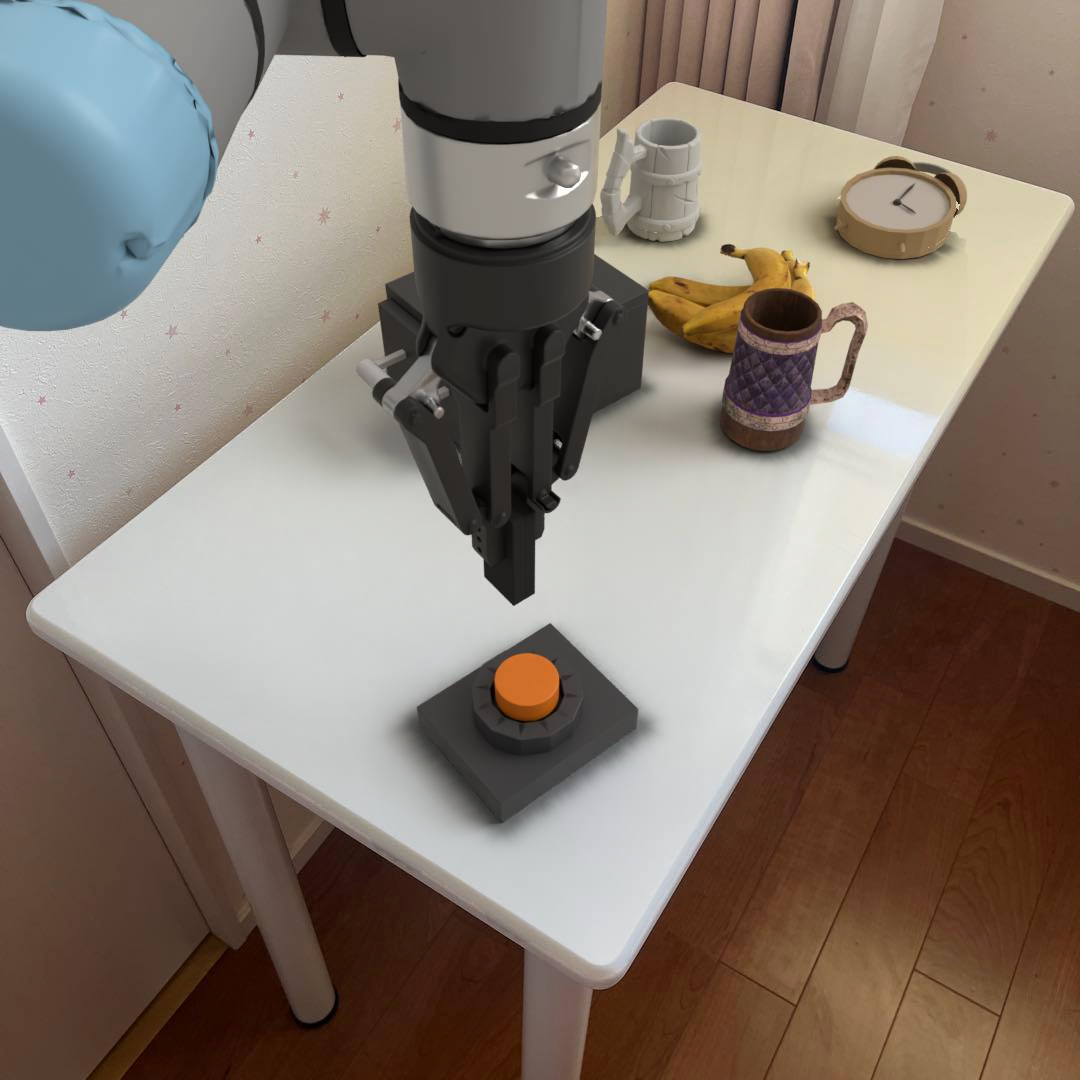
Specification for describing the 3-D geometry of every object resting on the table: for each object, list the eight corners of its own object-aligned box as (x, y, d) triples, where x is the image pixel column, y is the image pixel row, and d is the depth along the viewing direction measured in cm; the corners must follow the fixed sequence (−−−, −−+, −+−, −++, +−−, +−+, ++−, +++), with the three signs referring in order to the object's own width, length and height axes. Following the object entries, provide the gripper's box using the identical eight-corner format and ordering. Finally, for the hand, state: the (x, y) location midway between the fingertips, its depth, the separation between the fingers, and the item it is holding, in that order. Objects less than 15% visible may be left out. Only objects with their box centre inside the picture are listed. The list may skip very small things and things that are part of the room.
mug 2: (719, 452, 90) (739, 332, 81) (716, 396, 95) (734, 276, 86) (847, 458, 89) (880, 337, 80) (837, 401, 94) (867, 281, 85)
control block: (502, 823, 67) (500, 789, 64) (419, 725, 72) (413, 690, 69) (636, 728, 72) (640, 692, 69) (550, 642, 77) (550, 605, 74)
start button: (521, 733, 67) (520, 717, 66) (482, 690, 70) (481, 674, 68) (571, 699, 69) (572, 682, 68) (532, 659, 71) (532, 642, 70)
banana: (844, 289, 105) (856, 236, 101) (755, 396, 95) (765, 342, 90) (702, 240, 111) (708, 188, 107) (603, 336, 100) (606, 283, 96)
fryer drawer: (431, 484, 86) (423, 405, 80) (344, 401, 93) (331, 323, 87) (615, 387, 94) (620, 308, 88) (523, 317, 101) (521, 240, 95)
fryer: (493, 467, 89) (488, 368, 81) (396, 381, 96) (384, 283, 89) (641, 387, 95) (649, 290, 88) (540, 313, 103) (540, 217, 96)
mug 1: (714, 226, 113) (728, 113, 104) (626, 266, 108) (633, 151, 99) (664, 195, 117) (673, 84, 108) (577, 233, 112) (579, 120, 103)
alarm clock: (818, 210, 109) (891, 128, 115) (813, 248, 113) (885, 167, 119) (923, 248, 105) (994, 161, 111) (915, 287, 109) (984, 201, 115)
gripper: (420, 304, 39) (452, 688, 57) (686, 188, 45) (641, 570, 62) (312, 214, 43) (373, 599, 61) (568, 118, 49) (557, 496, 66)
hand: (509, 584), depth 61 cm, fingers closed
